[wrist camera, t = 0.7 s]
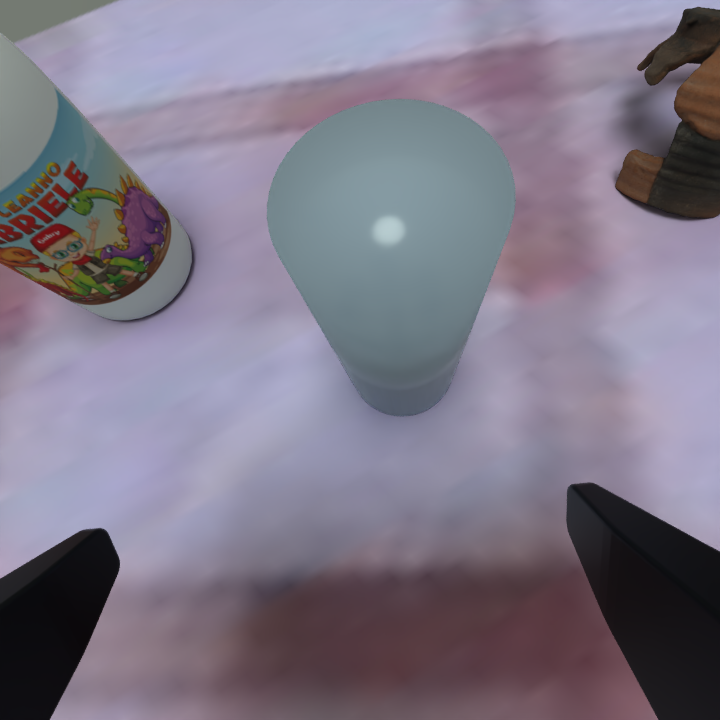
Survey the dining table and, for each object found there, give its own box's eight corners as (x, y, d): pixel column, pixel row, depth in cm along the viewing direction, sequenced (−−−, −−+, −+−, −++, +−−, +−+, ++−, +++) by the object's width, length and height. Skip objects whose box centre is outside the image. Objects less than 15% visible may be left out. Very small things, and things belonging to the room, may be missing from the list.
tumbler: (432, 432, 21) (465, 347, 8) (334, 393, 23) (225, 264, 9) (468, 336, 23) (547, 128, 9) (373, 305, 24) (326, 79, 11)
